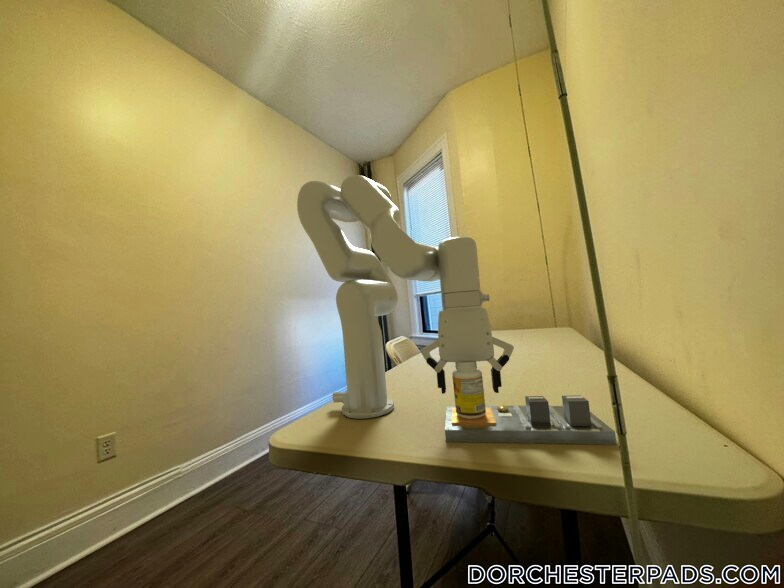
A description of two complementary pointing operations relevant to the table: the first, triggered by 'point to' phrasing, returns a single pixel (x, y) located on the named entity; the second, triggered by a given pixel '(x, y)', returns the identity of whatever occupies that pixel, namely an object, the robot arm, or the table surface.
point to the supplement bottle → (468, 390)
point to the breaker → (576, 410)
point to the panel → (525, 426)
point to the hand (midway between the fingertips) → (469, 391)
